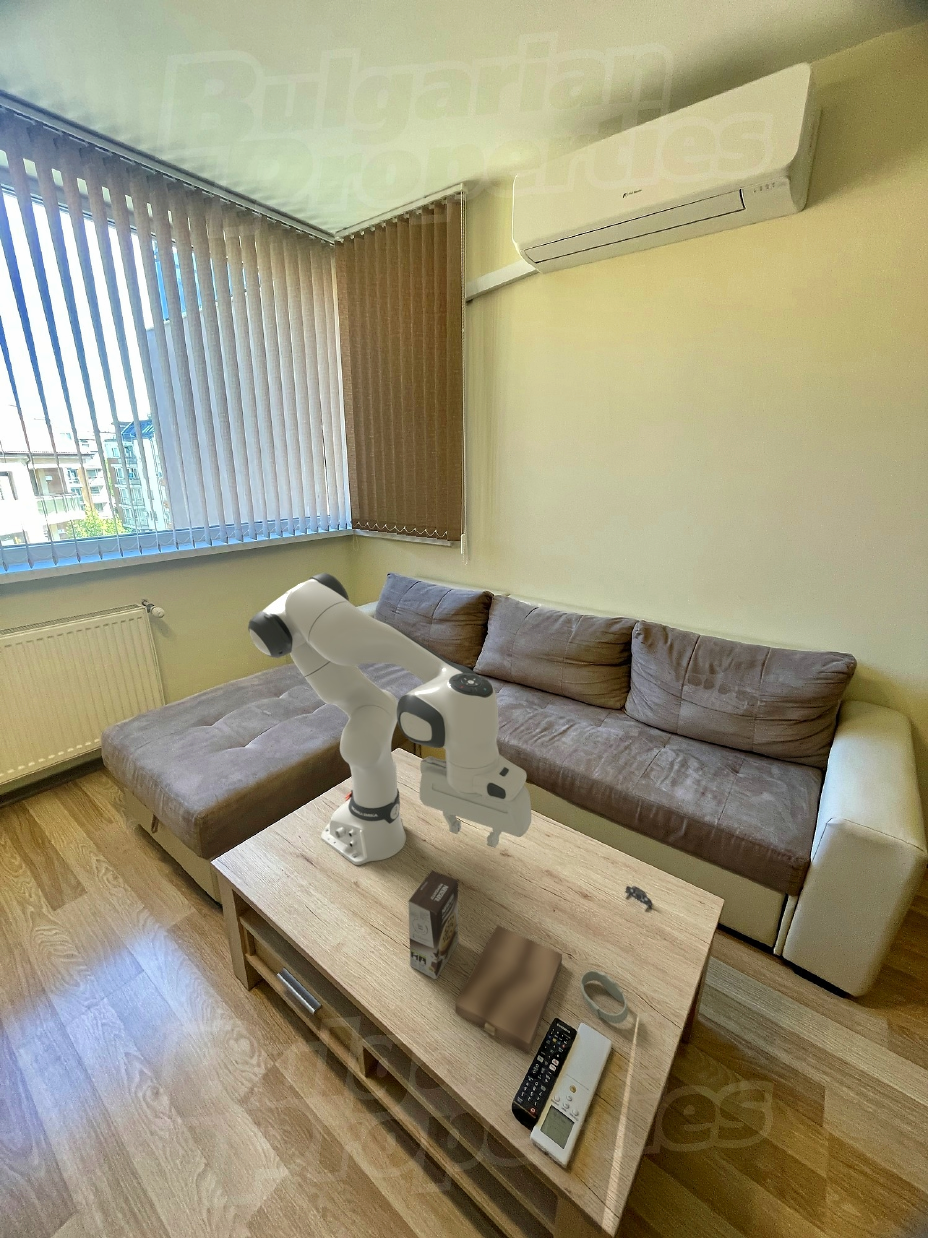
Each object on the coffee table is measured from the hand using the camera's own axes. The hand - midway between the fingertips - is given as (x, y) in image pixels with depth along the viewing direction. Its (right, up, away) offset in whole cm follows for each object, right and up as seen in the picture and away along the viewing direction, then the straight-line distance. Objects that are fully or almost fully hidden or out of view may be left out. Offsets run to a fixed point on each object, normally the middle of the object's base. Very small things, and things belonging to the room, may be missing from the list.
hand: (473, 837), depth 86 cm
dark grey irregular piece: (+40, -27, +22) cm, 54 cm away
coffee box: (-8, -30, +13) cm, 33 cm away
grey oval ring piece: (+24, -32, +4) cm, 40 cm away
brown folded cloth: (+7, -32, +7) cm, 33 cm away
